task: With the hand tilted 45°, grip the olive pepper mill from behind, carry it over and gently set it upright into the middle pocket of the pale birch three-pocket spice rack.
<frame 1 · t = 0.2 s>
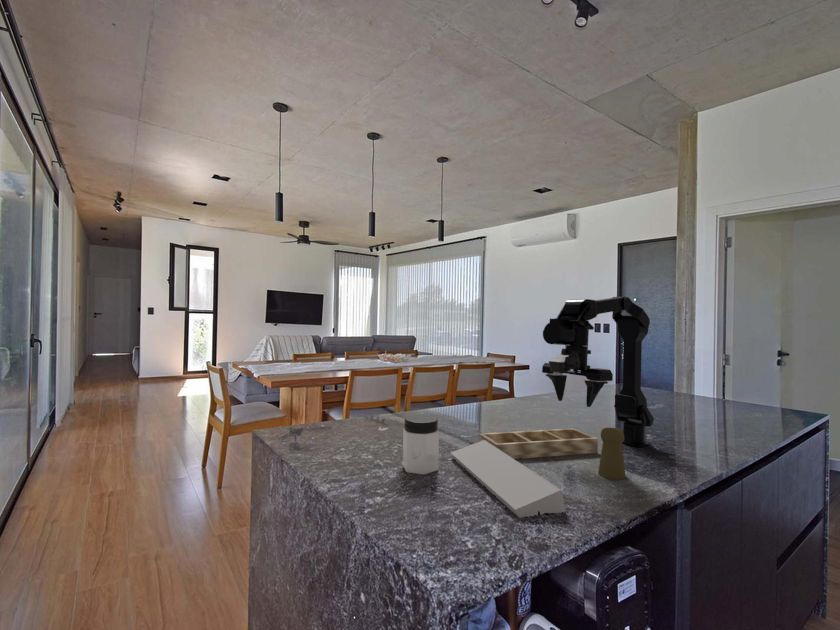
hand: (573, 403, 113), 14 cm above the counter, tool pointing down, fingers open, 9 cm apart
decorative molding: (498, 484, 95), on the counter
olive pepper mill: (611, 475, 101), on the counter
spice rack: (537, 450, 119), on the counter
jar: (420, 469, 102), on the counter
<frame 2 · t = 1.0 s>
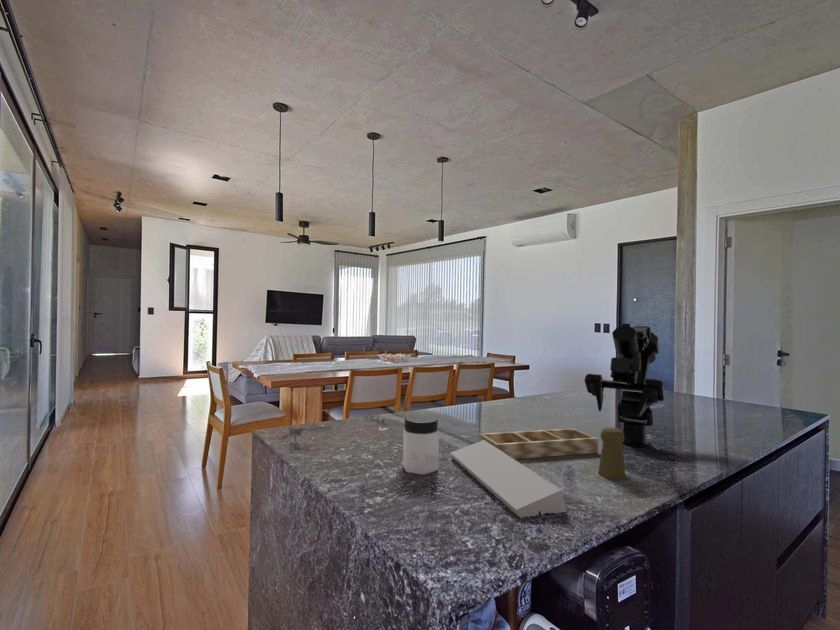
hand: (618, 413, 108), 13 cm above the counter, tool tilted 45°, fingers open, 9 cm apart
nothing on the counter moved.
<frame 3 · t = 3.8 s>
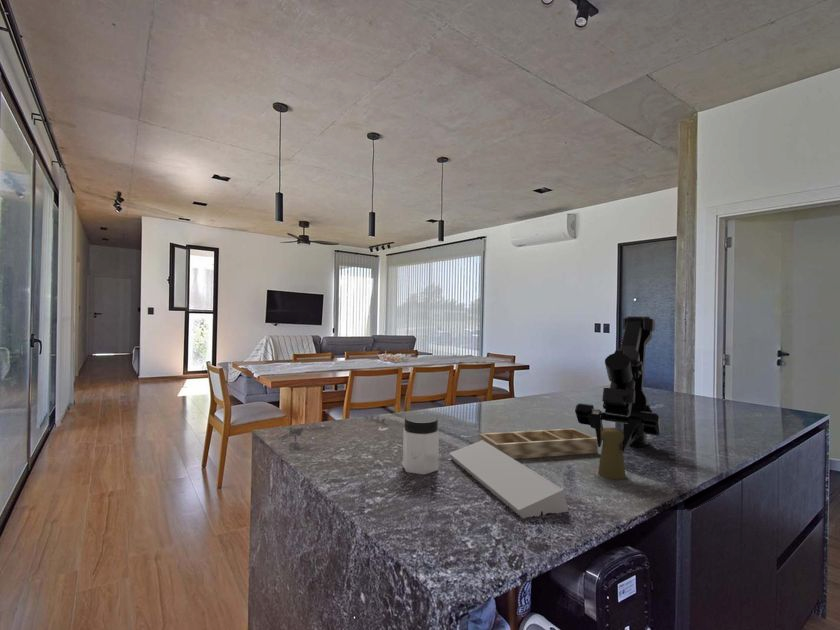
hand: (610, 448, 100), 7 cm above the counter, tool tilted 45°, fingers closed on olive pepper mill, 5 cm apart
olive pepper mill: (611, 475, 101), on the counter, touching gripper
everything else where it was.
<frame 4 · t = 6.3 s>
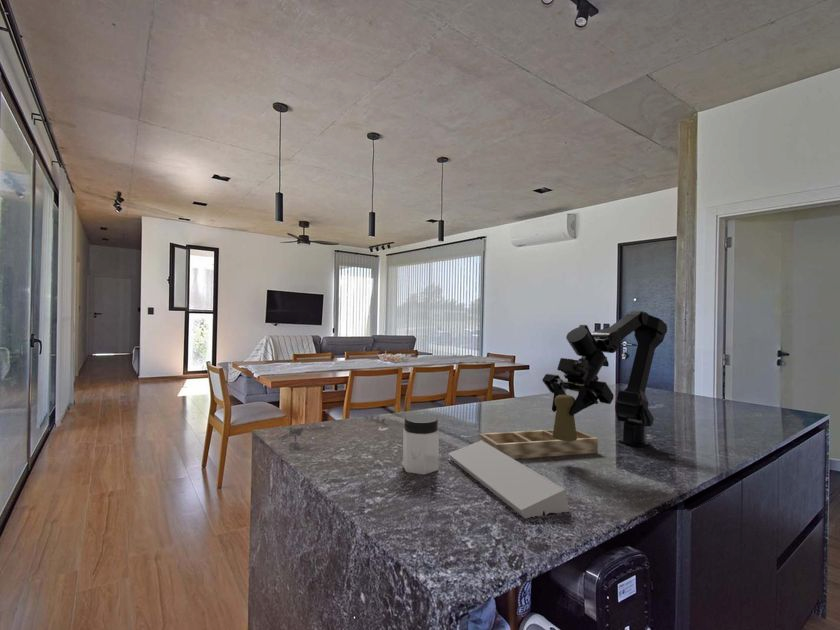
hand: (561, 412, 109), 13 cm above the counter, tool tilted 45°, fingers closed on olive pepper mill, 5 cm apart
olive pepper mill: (564, 438, 110), point 6 cm above the counter, touching gripper
everything else where it was.
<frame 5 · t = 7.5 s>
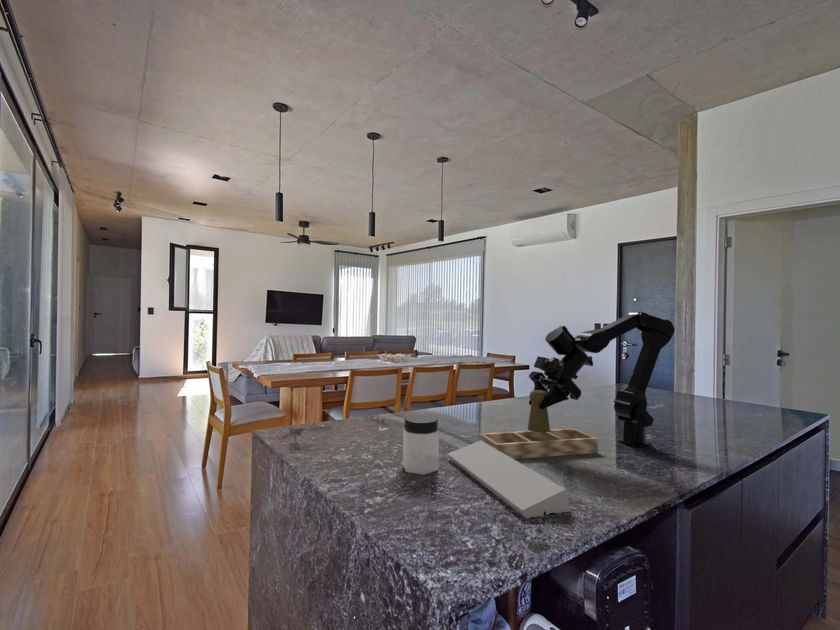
hand: (534, 406, 119), 12 cm above the counter, tool tilted 45°, fingers closed on olive pepper mill, 5 cm apart
olive pepper mill: (538, 430, 119), point 6 cm above the counter, touching gripper
everything else where it was.
when the fingers open (8 cm above the counter, at t = 8.7 s): olive pepper mill stays where it is, resting on spice rack.
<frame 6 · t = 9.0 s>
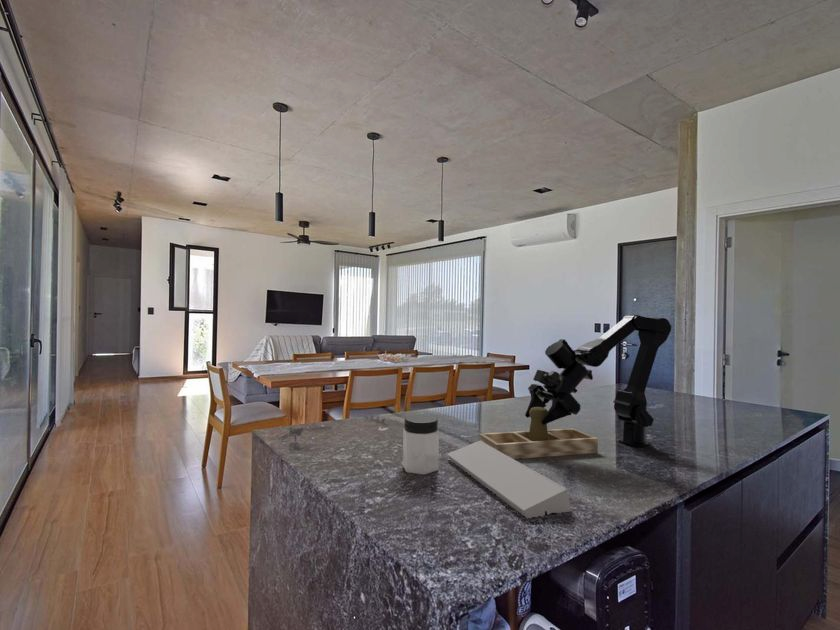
hand: (533, 419, 119), 9 cm above the counter, tool tilted 45°, fingers open, 8 cm apart
olive pepper mill: (538, 447, 119), point 1 cm above the counter, touching spice rack
everything else where it was.
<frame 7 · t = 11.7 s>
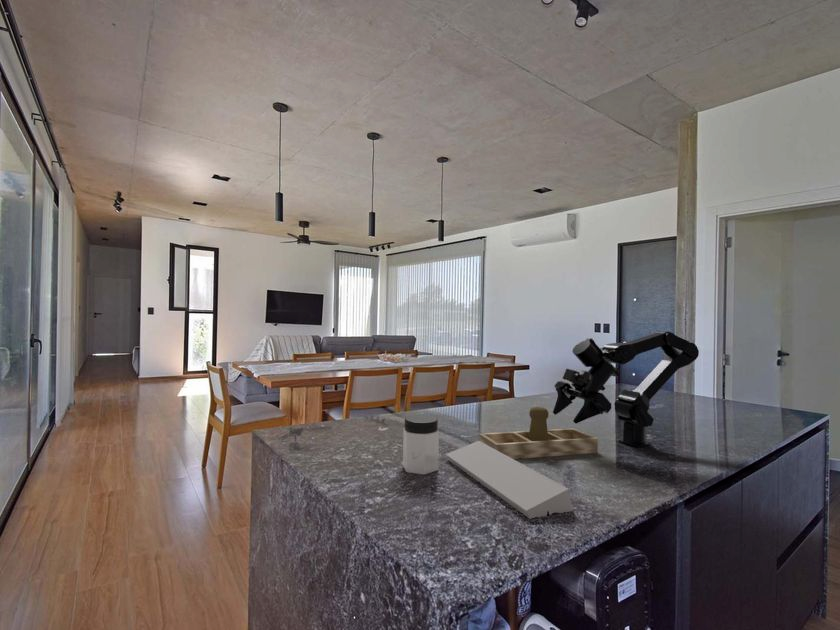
hand: (563, 417, 121), 9 cm above the counter, tool tilted 45°, fingers open, 9 cm apart
nothing on the counter moved.
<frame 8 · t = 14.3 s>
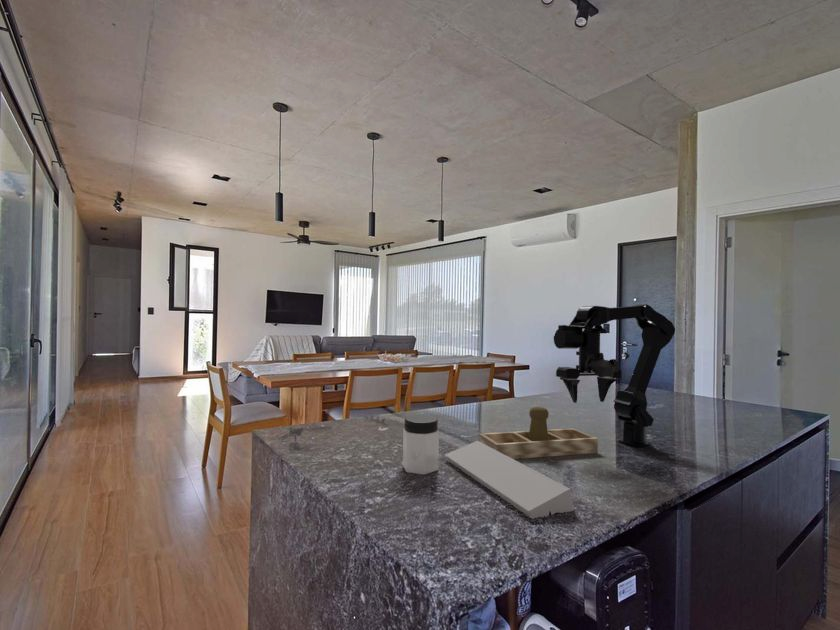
hand: (588, 402, 124), 13 cm above the counter, tool pointing down, fingers open, 9 cm apart
at the end: olive pepper mill inside the target area on the spice rack (0.1 cm from its centre), point 0.8 cm above the spice rack's base; olive pepper mill tilted 0°; the gripper is holding nothing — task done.
